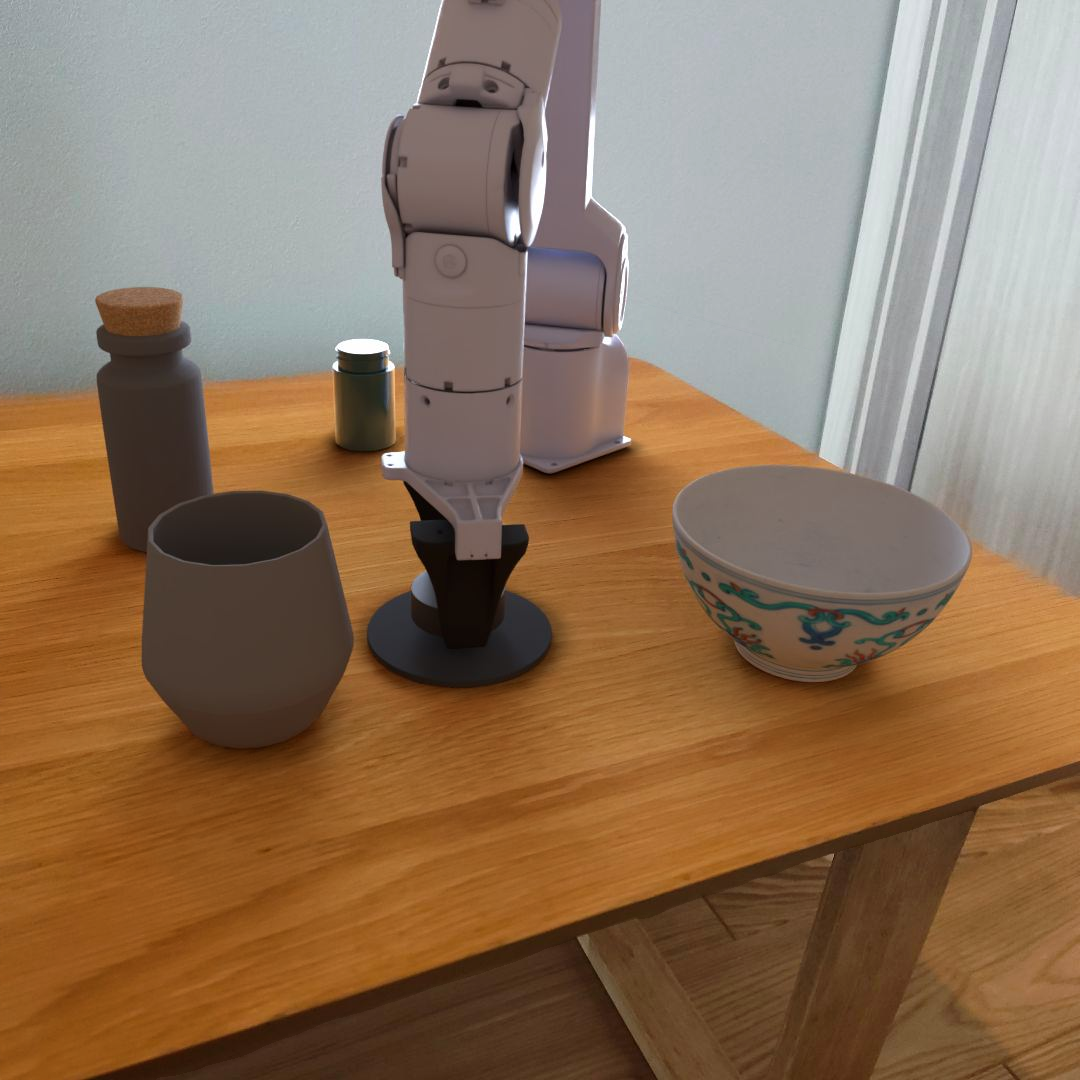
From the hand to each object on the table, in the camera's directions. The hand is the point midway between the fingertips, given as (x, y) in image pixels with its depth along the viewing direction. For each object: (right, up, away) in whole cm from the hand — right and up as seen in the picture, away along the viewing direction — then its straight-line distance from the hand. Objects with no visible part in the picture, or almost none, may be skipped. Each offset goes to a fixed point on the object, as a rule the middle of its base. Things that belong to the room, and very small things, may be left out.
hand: (460, 616), depth 57 cm
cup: (-9, -4, -6) cm, 12 cm away
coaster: (0, -1, +1) cm, 1 cm away
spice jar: (-9, +12, +25) cm, 29 cm away
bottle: (-19, +4, +10) cm, 22 cm away
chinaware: (+18, -2, +1) cm, 18 cm away
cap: (0, +1, -1) cm, 2 cm away
